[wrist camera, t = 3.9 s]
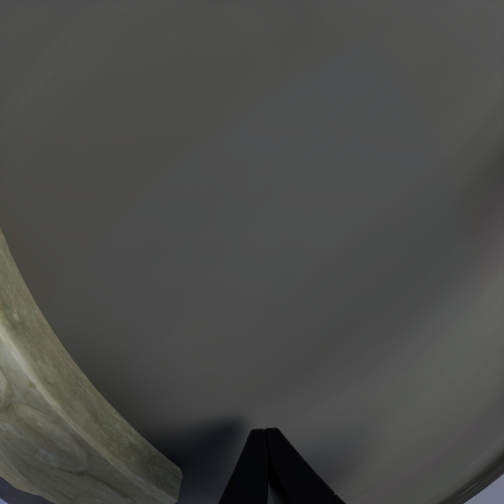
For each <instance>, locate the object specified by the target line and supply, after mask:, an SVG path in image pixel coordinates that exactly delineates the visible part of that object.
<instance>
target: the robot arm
mask: <svg viewBox="0 0 504 504" xmlns="http://www.w3.org/2000/svg"><path fill="white" fill-rule="evenodd" d="M268 482H269V487H270V491H271V495H272V498H273V502H274V504H346V503H345V502H343V501H342V500H341V499H340V498H339V497H338V495H336V494H335V493H334V492H333V490H332V489H331V488H330V487H329V486H328V485H327V484H326V483H325V482H324V481H323V480H322V479H321V478H320V477H319V476H318V474H317V473H316V472H315V471H314V470H313V469H312V468H311V467H310V466H309V464H308V463H307V462H306V461H305V460H304V459H303V458H302V456H301V455H300V454H299V453H298V452H297V451H296V449H295V448H294V447H293V446H292V445H291V444H290V442H289V441H288V440H287V439H286V437H285V436H284V435H283V434H282V433H281V431H280V430H279V429H278V428H276V427H275V428H266V429H265V430H264V429H252V430H251V431H250V434H249V436H248V439H247V441H246V443H245V446H244V448H243V450H242V453H241V455H240V457H239V460H238V462H237V464H236V466H235V469H234V471H233V473H232V475H231V478H230V480H229V482H228V484H227V486H226V488H225V491H224V493H223V495H222V497H221V499H220V501H219V503H218V504H268ZM334 494H335V495H334Z"/></svg>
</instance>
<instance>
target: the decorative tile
mask: <svg viewBox="0 0 504 504" xmlns="http://www.w3.org/2000/svg"><path fill="white" fill-rule="evenodd" d="M0 476H1V477H3V478H4V479H6V480H7V481H8V482H9V483H10V484H11V485H12V486H14V487H15V488H16V489H19V490H21V491H25V492H29V493H31V494H36V495H41V496H42V497H44V498H45V499H47V500H48V501H50V502H53V503H56V504H175V503H176V502H178V497H179V491H180V485H181V480H182V478H183V477H182V472H181V469H180V468H179V467H178V466H176V465H175V464H174V463H173V462H171V461H170V460H169V459H168V458H166V457H165V456H164V455H163V454H162V453H160V452H159V451H158V450H157V449H156V448H155V447H153V446H152V445H151V444H150V443H149V442H148V441H146V440H145V439H144V438H143V437H142V436H141V435H140V434H139V433H138V432H137V431H136V430H135V429H134V428H133V427H132V426H131V425H130V424H129V423H128V422H127V421H126V420H125V419H124V418H123V417H122V416H121V415H120V414H119V413H118V412H117V411H116V410H115V409H114V408H113V407H112V406H111V405H110V404H109V403H108V402H107V401H106V399H105V398H104V397H103V396H102V395H101V394H100V393H99V392H98V390H97V389H96V388H95V387H94V386H93V384H92V383H91V382H90V381H89V380H88V378H87V377H86V376H85V375H84V373H83V372H82V371H81V370H80V368H79V367H78V366H77V365H76V363H75V362H74V361H73V359H72V358H71V357H70V355H69V354H68V352H67V351H66V350H65V348H64V347H63V345H62V344H61V342H60V341H59V339H58V338H57V336H56V335H55V333H54V332H53V330H52V329H51V327H50V326H49V324H48V323H47V321H46V319H45V318H44V316H43V315H42V313H41V311H40V310H39V308H38V306H37V304H36V303H35V301H34V299H33V297H32V295H31V294H30V292H29V290H28V288H27V286H26V284H25V282H24V280H23V278H22V276H21V274H20V272H19V270H18V268H17V266H16V264H15V262H14V259H13V257H12V255H11V253H10V250H9V248H8V246H7V243H6V241H5V238H4V236H3V233H2V231H1V228H0Z"/></svg>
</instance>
